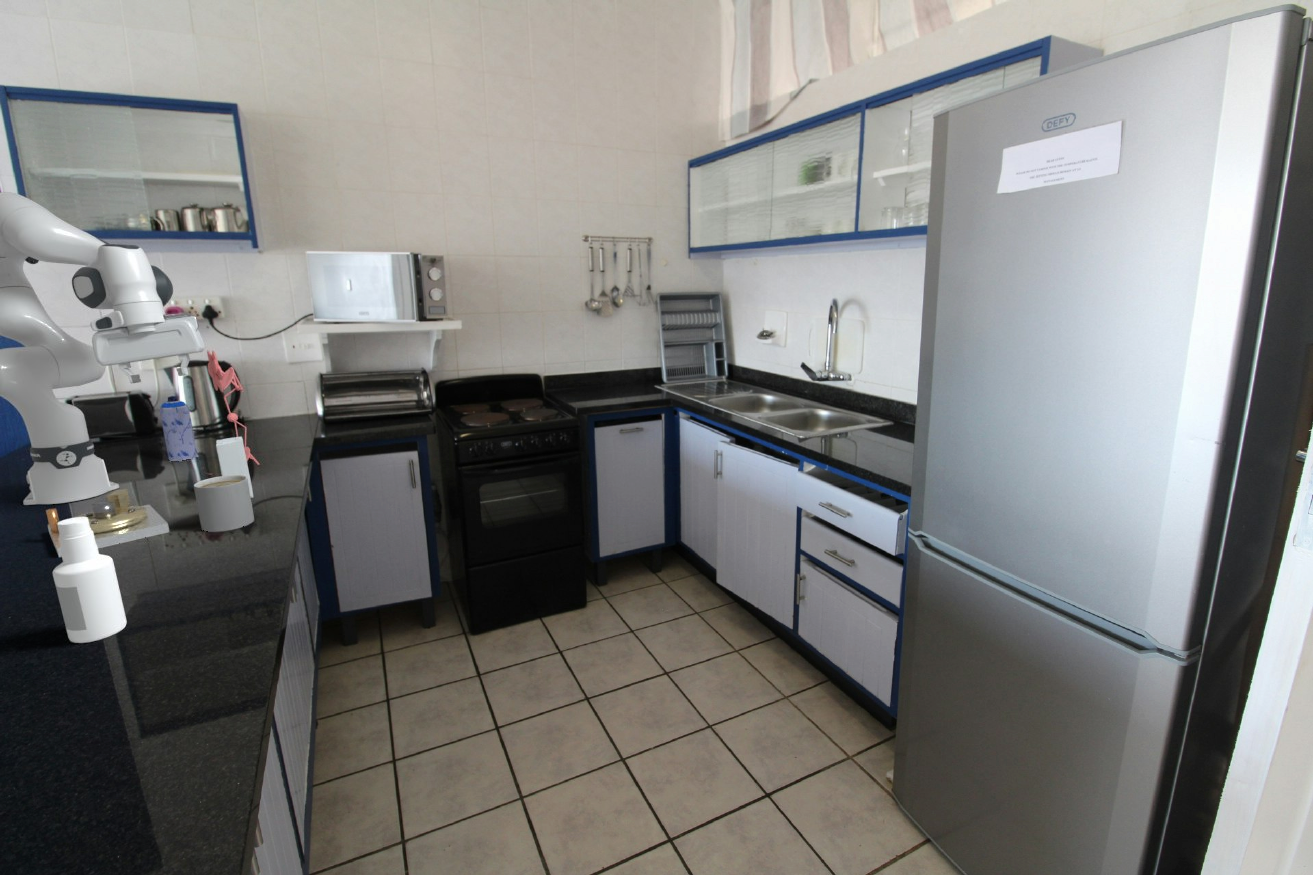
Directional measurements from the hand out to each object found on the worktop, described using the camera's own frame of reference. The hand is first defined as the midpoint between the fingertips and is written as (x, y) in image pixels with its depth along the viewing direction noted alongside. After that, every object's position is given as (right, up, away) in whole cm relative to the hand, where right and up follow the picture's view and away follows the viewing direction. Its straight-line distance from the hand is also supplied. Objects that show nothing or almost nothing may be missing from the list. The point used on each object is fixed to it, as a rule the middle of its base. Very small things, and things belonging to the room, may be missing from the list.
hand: (160, 379), depth 147 cm
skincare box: (+6, -28, +19) cm, 35 cm away
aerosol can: (-39, -20, +60) cm, 74 cm away
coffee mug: (+15, -33, 0) cm, 36 cm away
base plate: (-7, -34, -5) cm, 35 cm away
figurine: (-16, -22, +49) cm, 56 cm away
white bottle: (+27, -43, -48) cm, 70 cm away
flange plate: (-7, -32, -5) cm, 33 cm away
